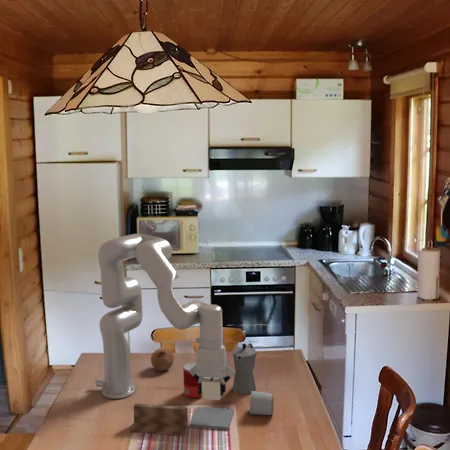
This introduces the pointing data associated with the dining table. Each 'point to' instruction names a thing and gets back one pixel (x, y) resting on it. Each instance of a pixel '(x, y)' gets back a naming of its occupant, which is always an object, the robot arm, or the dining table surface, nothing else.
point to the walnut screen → (160, 419)
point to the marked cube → (211, 388)
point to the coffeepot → (244, 369)
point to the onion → (162, 359)
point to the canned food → (190, 383)
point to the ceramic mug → (261, 403)
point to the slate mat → (212, 418)
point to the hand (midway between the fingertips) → (212, 392)
